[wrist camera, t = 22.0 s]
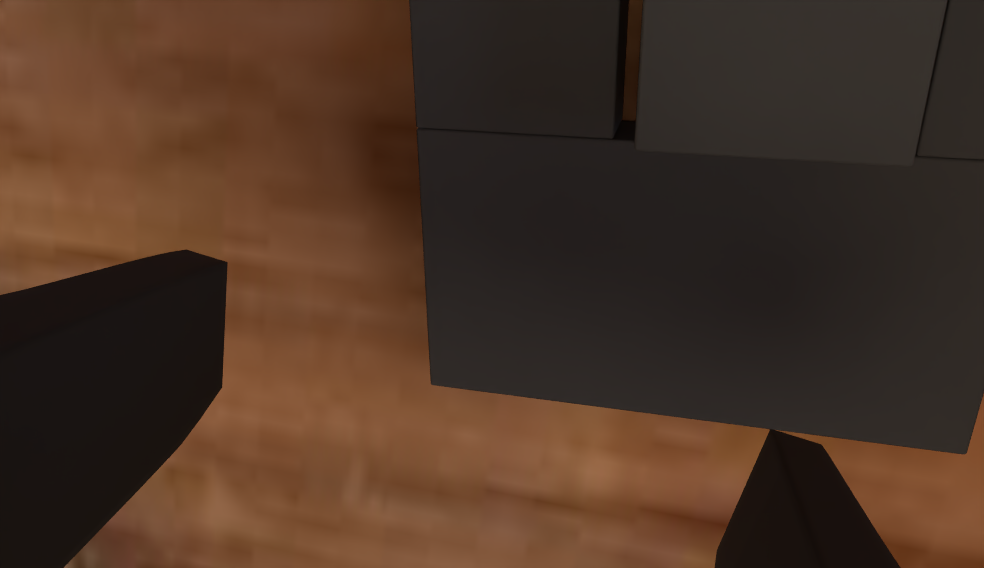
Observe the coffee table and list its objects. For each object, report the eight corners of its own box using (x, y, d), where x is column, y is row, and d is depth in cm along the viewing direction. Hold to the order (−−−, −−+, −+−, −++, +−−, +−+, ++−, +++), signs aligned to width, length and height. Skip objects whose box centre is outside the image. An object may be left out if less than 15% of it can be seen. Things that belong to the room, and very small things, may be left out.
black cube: (653, 96, 18) (634, 151, 14) (669, -136, 16) (650, -137, 13) (877, 106, 17) (913, 168, 13) (922, -141, 15) (979, -143, 12)
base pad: (448, 354, 22) (430, 385, 21) (425, -166, 17) (398, -168, 16) (951, 416, 19) (966, 456, 18) (1111, -186, 14) (1149, -191, 13)
